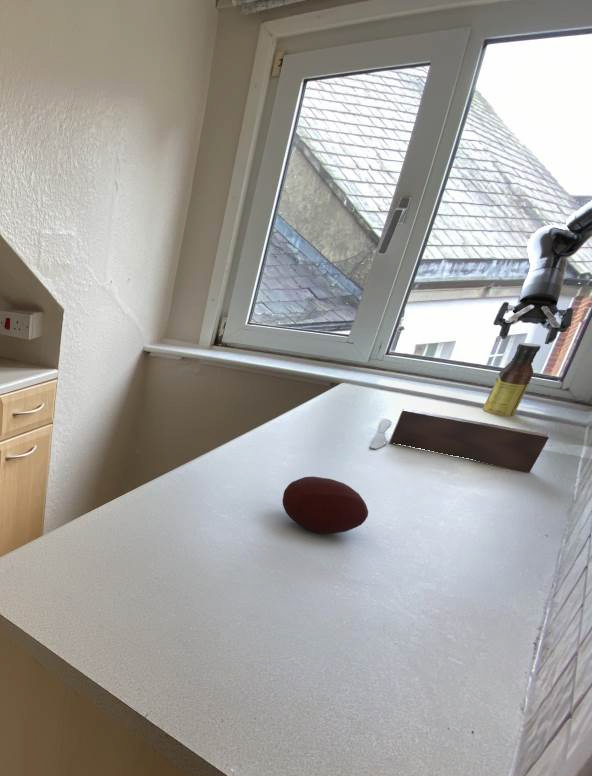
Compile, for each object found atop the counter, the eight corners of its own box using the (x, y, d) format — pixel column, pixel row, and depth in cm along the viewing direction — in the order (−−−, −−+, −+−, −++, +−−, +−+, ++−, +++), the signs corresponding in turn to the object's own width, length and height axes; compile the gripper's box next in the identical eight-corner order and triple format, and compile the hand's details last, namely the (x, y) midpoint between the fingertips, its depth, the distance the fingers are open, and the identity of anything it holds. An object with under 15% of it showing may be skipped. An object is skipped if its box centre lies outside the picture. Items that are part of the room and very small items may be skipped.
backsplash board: (527, 469, 116) (547, 434, 112) (529, 472, 114) (549, 437, 110) (389, 440, 128) (403, 408, 125) (389, 443, 127) (403, 410, 123)
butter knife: (396, 420, 140) (382, 416, 141) (382, 450, 122) (366, 445, 123) (395, 422, 140) (381, 419, 142) (380, 452, 122) (365, 448, 124)
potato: (260, 514, 94) (274, 470, 90) (306, 504, 98) (321, 462, 94) (323, 550, 84) (341, 502, 81) (370, 537, 88) (391, 491, 84)
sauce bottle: (492, 414, 149) (528, 341, 140) (516, 422, 144) (556, 346, 135) (472, 415, 148) (507, 341, 139) (496, 423, 143) (534, 347, 134)
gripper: (511, 278, 148) (496, 326, 144) (585, 283, 140) (571, 335, 137) (499, 296, 154) (484, 344, 151) (570, 302, 146) (556, 352, 143)
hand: (526, 339), depth 144 cm, fingers open, 8 cm apart
